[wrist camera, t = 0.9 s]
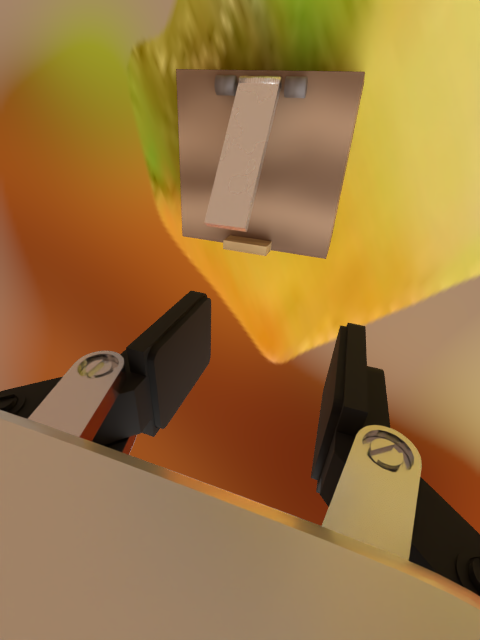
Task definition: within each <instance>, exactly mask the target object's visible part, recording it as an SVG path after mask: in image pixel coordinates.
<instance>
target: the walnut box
mask: <svg viewBox="0 0 480 640" xmlns="http://www.w3.org/2000/svg"><path fill="white" fill-rule="evenodd" d="M176 73H177V100H178V126H179V153H180V180H181V206H182V233H183V236H185V237H192V238H198V239H204V240H211V241H217V242H223V249H227V250H233V251H239V252H245V253H251V254H257V255H264V256H266V255H267V254H268V253H269V252H270V250H274V251H280V252H286V253H293V254H299V255H305V256H312V257H318V258H324V259H326V257H327V253H328V250H329V246H330V242H331V237H332V233H333V228H334V223H335V218H336V213H337V209H338V204H339V199H340V194H341V190H342V185H343V180H344V175H345V171H346V166H347V161H348V156H349V152H350V147H351V142H352V137H353V133H354V128H355V123H356V118H357V114H358V109H359V104H360V99H361V95H362V90H363V85H364V76H365V72H343V71H268V70H193V69H176ZM240 76H274V77H282V86H281V90H280V93H279V98H278V102H277V106H276V110H275V115H274V119H273V123H272V127H271V131H270V136H269V140H268V144H267V148H266V153H265V157H264V161H263V165H262V169H261V174H260V178H259V182H258V186H257V191H256V195H255V199H254V203H253V207H252V212H251V216H250V220H249V224H248V229H247V232H244V231H237V230H231V229H224V228H217V227H210V226H207V225H206V224H205V223H204V222H205V217H206V213H207V209H208V205H209V201H210V197H211V193H212V189H213V185H214V181H215V177H216V173H217V168H218V164H219V160H220V156H221V152H222V148H223V144H224V140H225V136H226V132H227V128H228V124H229V119H230V115H231V111H232V107H233V103H234V99H235V95H236V91H237V87H238V82H239V77H240Z"/></svg>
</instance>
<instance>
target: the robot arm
mask: <svg viewBox="0 0 480 640" xmlns="http://www.w3.org/2000/svg"><path fill="white" fill-rule="evenodd" d="M210 352H211V299H210V298H207V295H206V294H204V293H200V292H195V291H190V292H189V293H188V294H186V295H185V296H184V297H183V298H182V299H181V300H180V301H179V302H177V303H176V304H175V305H174V306H173V307H172V308H171V309H169V310H168V311H167V312H166V313H165V314H164V315H163V316H162V317H160V318H159V319H158V320H157V321H156V322H155V323H154V324H153V325H151V326H150V327H149V328H148V329H147V330H146V331H145V332H143V333H142V334H141V335H140V336H139V337H138V338H137V339H136V340H134V341H133V342H132V343H131V344H130V345H129V346H128V347H127V348H126V350H125V351H124V352H123V353H122V354H118V353H116V352H112V351H99V352H93V353H91V354H88V355H85V356H84V357H82V358H80V359H79V360H78V361H77V362H76V363H75V364H74V365H73V366H72V367H71V368H70V369H69V371H68V372H67V373H66V374H65V375H64V376H63V377H60V378H56V379H51V380H47V381H42V382H38V383H34V384H30V385H25V386H21V387H17V388H13V389H8V390H4V391H1V392H0V640H480V534H479V533H478V532H477V531H476V530H475V529H474V528H473V527H472V526H470V524H469V523H468V522H467V521H465V520H464V519H463V518H462V517H461V516H460V515H459V514H458V513H457V512H456V511H455V510H454V509H453V508H452V507H451V506H450V505H449V504H448V503H447V502H446V501H445V500H444V499H443V498H442V497H441V496H440V495H439V494H438V493H437V492H436V491H435V490H434V489H433V488H432V487H430V486H429V485H428V484H427V483H426V482H425V481H424V480H423V479H422V478H421V477H420V474H421V467H422V465H421V457H420V455H419V453H418V450H417V449H416V448H415V446H414V445H413V444H412V443H411V441H410V440H408V439H407V438H406V437H405V436H404V435H402V434H401V433H399V432H397V431H395V430H394V429H391V428H390V422H389V413H388V403H387V395H386V385H385V376H384V371H383V370H381V369H378V368H373V367H368V366H367V361H366V360H367V359H366V332H365V326H361V325H357V324H352V323H348V324H347V326H346V327H345V326H340V329H339V333H338V336H337V340H336V344H335V348H334V351H333V355H332V359H331V363H330V367H329V371H328V374H327V378H326V382H325V386H324V390H323V396H322V403H321V410H320V417H319V424H318V431H317V438H316V445H315V452H314V459H313V466H312V474H311V478H313V479H316V480H318V483H317V492H318V493H320V495H321V496H322V498H323V499H324V501H325V502H326V504H327V505H328V507H329V509H328V511H327V514H326V516H325V519H324V521H323V524H322V526H320V525H317V524H314V523H312V522H309V521H306V520H303V519H301V518H298V517H296V516H293V515H290V514H287V513H285V512H282V511H279V510H277V509H274V508H271V507H269V506H266V505H263V504H260V503H258V502H255V501H252V500H250V499H247V498H244V497H242V496H239V495H236V494H234V493H231V492H228V491H226V490H223V489H220V488H217V487H215V486H212V485H209V484H206V483H204V482H201V481H198V480H195V479H193V478H190V477H187V476H185V475H182V474H179V473H176V472H174V471H171V470H168V469H166V468H163V467H160V466H157V465H155V464H152V463H149V462H146V461H144V460H141V459H138V458H136V457H132V456H130V455H129V453H130V451H131V449H132V446H133V444H134V442H135V439H136V435H137V434H140V433H144V434H148V435H150V436H153V437H154V436H155V435H156V433H157V432H158V430H159V429H160V428H162V429H164V428H165V427H166V426H167V424H168V423H169V422H170V420H171V418H172V417H173V416H174V414H175V413H176V411H177V410H178V408H179V407H180V405H181V404H182V402H183V401H184V399H185V398H186V396H187V395H188V393H189V392H190V391H191V389H192V388H193V386H194V385H195V383H196V382H197V380H198V379H199V377H200V376H201V374H202V373H203V371H204V370H205V368H206V367H207V365H208V364H209V361H210V355H211V354H210Z"/></svg>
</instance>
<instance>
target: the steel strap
mask: <svg viewBox="0 0 480 640" xmlns="http://www.w3.org/2000/svg"><path fill="white" fill-rule="evenodd" d="M281 86H282V77H274V76H240V77H239V82H238V87H237V91H236V95H235V99H234V103H233V107H232V111H231V115H230V119H229V124H228V128H227V132H226V136H225V140H224V144H223V148H222V152H221V156H220V160H219V164H218V168H217V173H216V177H215V181H214V185H213V189H212V193H211V197H210V201H209V205H208V209H207V213H206V217H205V222H204V223H205V224H206V225H207V226H210V227H217V228H224V229H231V230H237V231H244V232H247V229H248V224H249V220H250V216H251V212H252V207H253V203H254V199H255V195H256V191H257V186H258V182H259V178H260V174H261V169H262V165H263V161H264V157H265V153H266V148H267V144H268V140H269V136H270V131H271V127H272V123H273V119H274V115H275V110H276V106H277V102H278V98H279V93H280V90H281Z"/></svg>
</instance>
